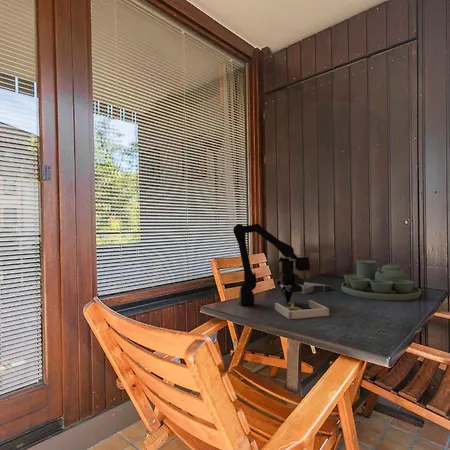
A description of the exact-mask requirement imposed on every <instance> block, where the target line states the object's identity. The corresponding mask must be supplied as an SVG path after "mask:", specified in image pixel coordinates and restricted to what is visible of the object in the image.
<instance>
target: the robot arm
mask: <svg viewBox="0 0 450 450" xmlns="http://www.w3.org/2000/svg"><path fill="white" fill-rule="evenodd" d="M232 231H233V234H234V237H235V239H236V242H237V243H238V249H239V253H240V258H241V259H240V260H241V263H242V264H241V265H242V268H243V277H244V278H243V282H244V283H242V284H241V285H240V289H239V292H238V293H239V296H238V297H239V302H238V305H240V306H241V307H251V306H255V294H254V290H255V289H256V287H257V283H258V279H257V274H256V271H255V272H253V270H252V266H251V262H250V257H249V252H248V251H249V250H248V248H247V247H248V246H247V241H246V237H247V235H246V234H248V233H249V234H251V233H257V234H258V235H260V236H261V237H262V238H264V239H265V240H266V241H267V242H269V243H270V244H271V245H273V247H275V249H277V250H278V251H279V252H280V253H281V254H282V256H283V257H282V256H279V258H278V259H276V260H277V262H278V263H281V272H279V276H281V278H279V279H277V278H276V279H275V280H274V283H273V284H274V286H275V285H276V286H277V287H279V286H278V285H281V286H280V287H279V290H280V292H281V295H282V296H283V298H284V301H285V303H286V304H288V302H291V299H292V296H293V294H294V293H293V292H302V287H301V286H300V285H302V286H303V285H304V282H306V279H305V278H302V277H300V276H299V274H296V273H295V272H294V269H296V272H310V270H311V264H310V258H309V256H297V255H296V253H295V250H294V247H293V246H291V245H290V244H287V243H285V242H284V241H282V240H280V239H278V238H277V237H275V236H274V235H273V234H271V233H270V232H269V231H268V230H266V229H265V228H264V227H263V226H261V225H260V224H259V223H255V224H249V225H243V224H241V223H240V224H239V223H238V224H236V225H235V226H234V227H233V230H232ZM290 258H291V259H290ZM299 284H300V285H299ZM276 286H275V287H276Z"/></svg>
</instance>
